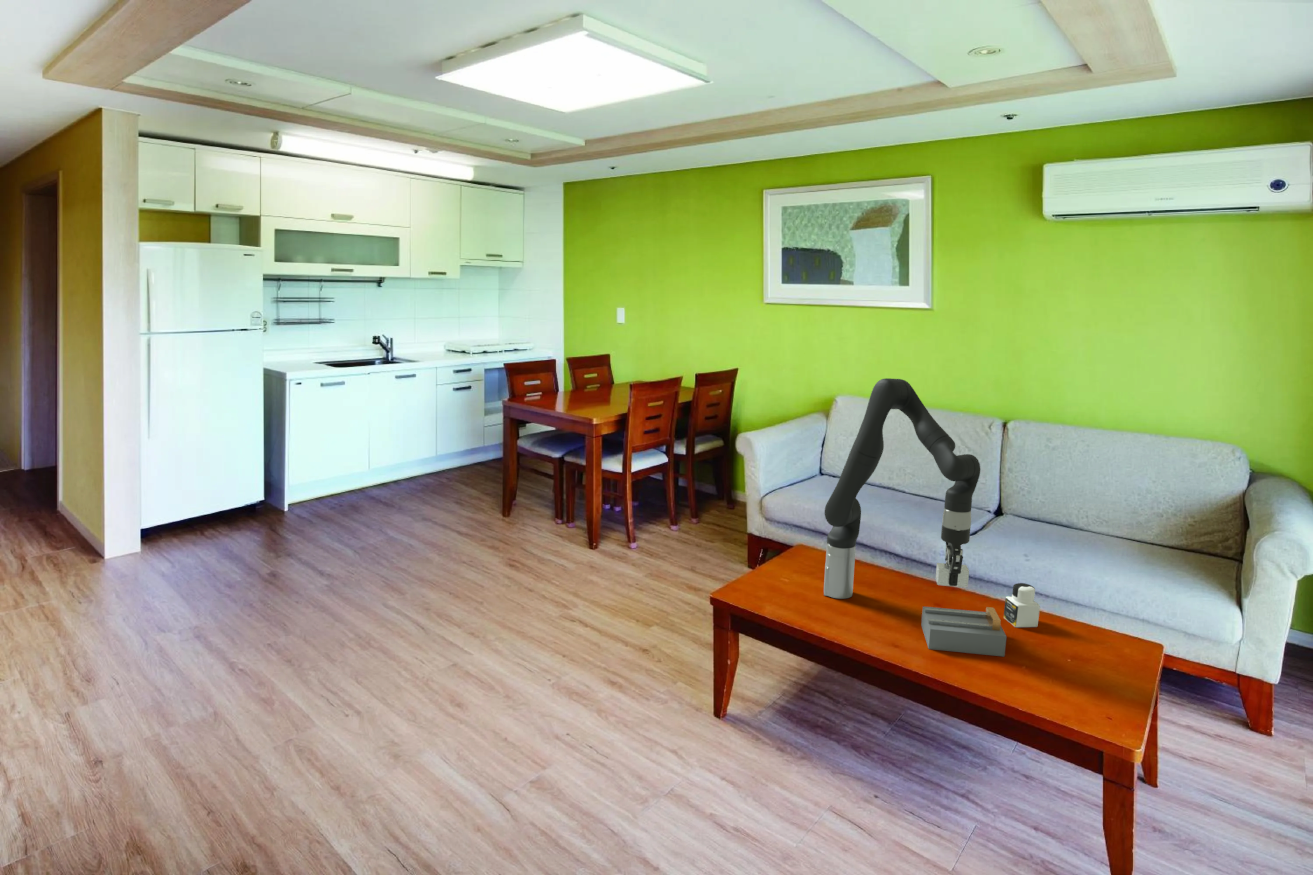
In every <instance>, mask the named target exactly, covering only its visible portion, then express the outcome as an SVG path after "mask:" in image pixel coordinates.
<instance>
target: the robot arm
mask: <svg viewBox="0 0 1313 875" xmlns="http://www.w3.org/2000/svg"><path fill="white" fill-rule="evenodd" d="M891 410H899V411H901V413H903V414H904V415H905V416H906V417H907V418H908V419H909V420H910V422H911V424H912V426H913V428H914V431H915V435H916V437H917V438H918V440H919V442H920V443H921V445H923V446H924V448H925V449H926V450H927V451H928V452H929V453H930V454H931V455H932V457H933V459H934V461H935V463H936V465H937V468H938V469H939V471H940V473H941V474H942V476H943V477H944V478H946V479H947V480H949V481H951V482H954V484H953V485H952V486H951V487H949V488H947V490H946V491H945V494H944V508H943V514H942V521H941V533H940V539H941V540H942V541H943V542H944V543H945V557H944V560H945V563H946V564H949V565H950V570H949V572H950V574H949V585H950V586H949V587H955V586H957V582H958V574H960V573H961V566H962V565H963V559H964V556H963V548H962V545H966V544H969V542H970V537H971V525H972V504H973V495H974V492H975V490H976V488H977V485H978V482H979V479H980V476H981V464H980V461H979V459H978V457H976V456H975V455H973V454H972V453H971V454H969V453H967V454H966V453H964V454H959V455H957V454H955V453H954V450H955V449H956V442H955V441H954V440H953V438H952V437H951V436H950V435H949V434H948V433H947V432H946V431H945V429H943V427H941V426H940V424H939V423H938V422H937V421H936V420H935V418H934V417H933V416H932V414H931V413H930V412H929V410H928V409H927V408H926V406H925V405H924V403H923V402H922V400H921V399H920V398H919V396H918V394H917V393H916V391H915V389H914V388H913V387H912V385H911V384H910V383H909V382H908V381H906V380H905V379H901V378H882V379H880V380H877V382H876V383H875V384H874V386H873V388H872V391H871V393H870V396H869V400H868V404H867V406H866V410H865V413H864V417H863V420H862V422H861V424H860V428H859V429H858V433H857V435H856V438H855V439H854V442H853V444H852V446H851V449H850V451H849V454H848V456H847V459H846V461H845V464H844V467H843V468H842V471H841V474H840V477H839V479H838V481H837V484H836V486H835V487H834V489H833V491H832V493H831V495H830V497H829V498H828V501H827V502H826V504H825V507H824V518H825V520H826V522H827V523H828V524H829V525H830V526H832V528H831V530H830V531H829V532H828V534H827V537H826V549H825V550H826V553H825V564H824V580H823V596H826V597H831V598H833V599H839V600H842V599H844V600H845V599H849V598H851V597H853V592H854V591H853V590H854V579H855V578H854V577H855V576H854V575H855V561H856V546H857V539H858V538H859V534H860V526H861V519H862V508H861V503H860V502H859V500H858V499H857V495H858V493H859V492H860V490H861V489H862V488H863V486H865V484H866V483H867V482H868V481H869V479H870V478H871V476H872V475H873V474H874V473H875V471H876V469H877V468H878V465H879V462H880V460H881V458H882V456H883V452H884V447H885V446H884V445H885V444H884V434H883V433H884V432H883V430H884V425H885V422H886V420H887V416H888V414H889V413H890V411H891ZM954 567H957V569H954Z"/></svg>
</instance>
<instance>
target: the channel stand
mask: <svg viewBox="0 0 1313 875" xmlns="http://www.w3.org/2000/svg"><path fill="white" fill-rule="evenodd" d="M985 607H986V608H985V611H978V610H967V609H956V608H955V609H954V608H946V607H945V608H943V607H933V606H922V610H921V611H922V612H921V613H922V614H921V621H920V622H921V629H922V632H923V634H924V635H923V636H924V639H925V641H926V644H927V648H928V650H933V651H934V650H936V651H947V652H956V653H966V654H974V655H975V654H976V655H983V656H985V655H986V656H997V657H1005V656H1006V645H1007V635H1006V632H1005V631H1004V628H1003V627H1002V624H1001V623H1002V622H1001V621H1002V620H1001V618H1000V617H999V614H998V613H997V610H996V608H994V607H989V606H985Z"/></svg>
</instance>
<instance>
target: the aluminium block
mask: <svg viewBox="0 0 1313 875" xmlns="http://www.w3.org/2000/svg"><path fill="white" fill-rule="evenodd" d="M935 569H936V570H935V571H936V572H935V581H936V585H938V586H943V587H944V586H946V587H951V586H950V585H949V574H950V572H949V570H950V565H949V564H946V562H945V563H943V562H936V568H935ZM954 569H957V567H954ZM969 576H970V570H969V567H968V565H966V564H962V566H961V573H960V574H958V582H957V586H954V587H956V588H957V587H958V588H968V587H969V586H968V585H969Z"/></svg>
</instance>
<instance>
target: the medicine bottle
mask: <svg viewBox="0 0 1313 875" xmlns="http://www.w3.org/2000/svg"><path fill="white" fill-rule="evenodd" d="M1035 593H1036V588H1035V587H1034V586H1032V585H1031V584H1028V583H1026V582H1025V583H1023V582H1018V583H1014V584H1013V585H1012V594H1011V596H1005V599H1004V600H1005V601H1004V608H1003V609H1004V610H1003V611H1004V612H1003V619H1004V620H1006V621H1007V622H1008V623H1010V624H1011V625H1012V626H1013V627H1014V628H1037V627H1038V624H1039V619H1040V618H1039V617H1040V610H1041V605H1040V604H1039V603H1037V602H1036V601H1035V595H1036V594H1035Z"/></svg>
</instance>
